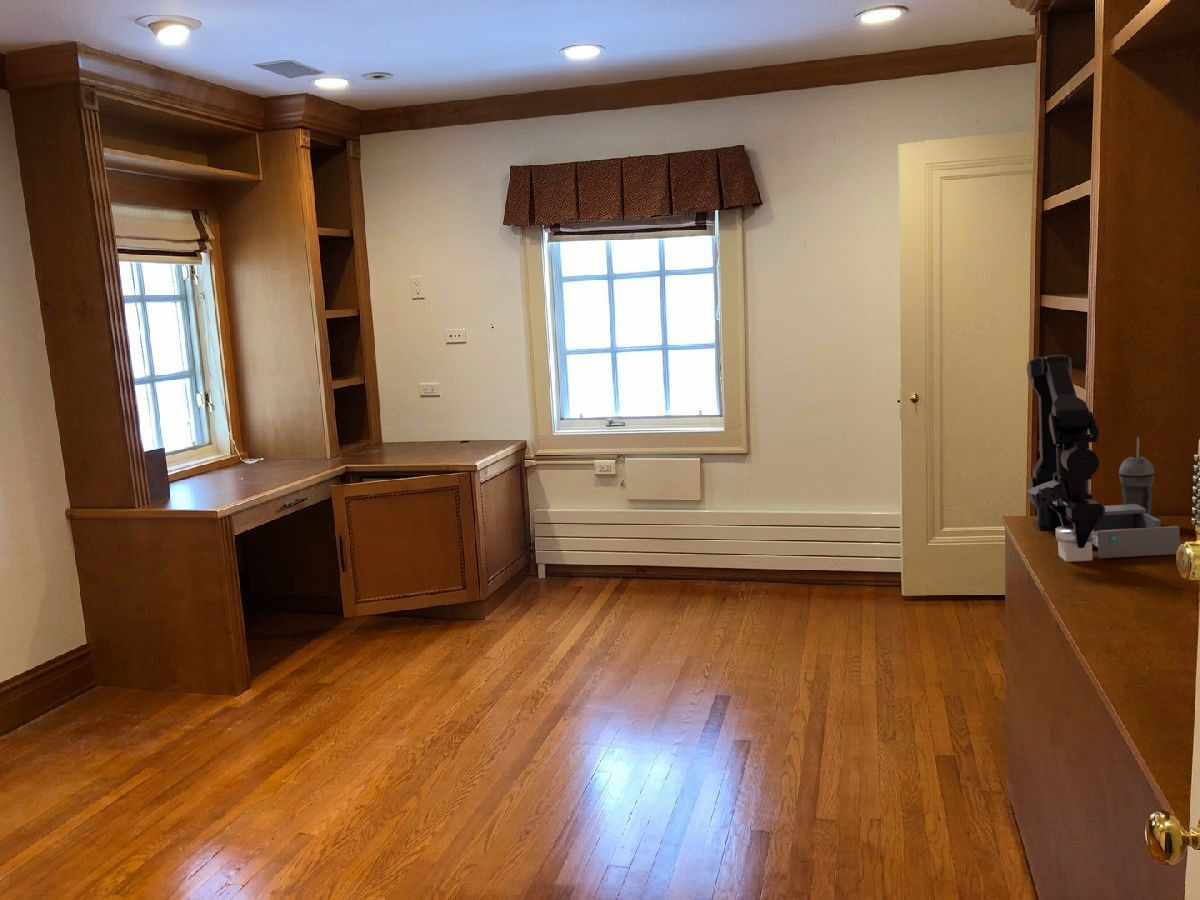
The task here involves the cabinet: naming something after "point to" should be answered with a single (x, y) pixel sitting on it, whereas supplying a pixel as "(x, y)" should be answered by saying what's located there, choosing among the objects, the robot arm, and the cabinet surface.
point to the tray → (1137, 541)
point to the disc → (1069, 534)
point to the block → (1075, 551)
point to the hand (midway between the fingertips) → (1074, 543)
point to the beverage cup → (1137, 480)
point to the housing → (1125, 518)
